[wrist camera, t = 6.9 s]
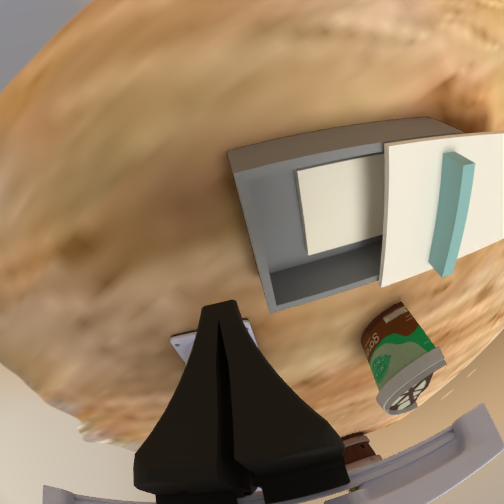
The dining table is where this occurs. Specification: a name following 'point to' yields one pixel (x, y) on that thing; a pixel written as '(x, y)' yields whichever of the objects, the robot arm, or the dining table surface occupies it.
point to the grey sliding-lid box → (319, 206)
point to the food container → (400, 358)
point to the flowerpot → (358, 454)
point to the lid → (440, 202)
